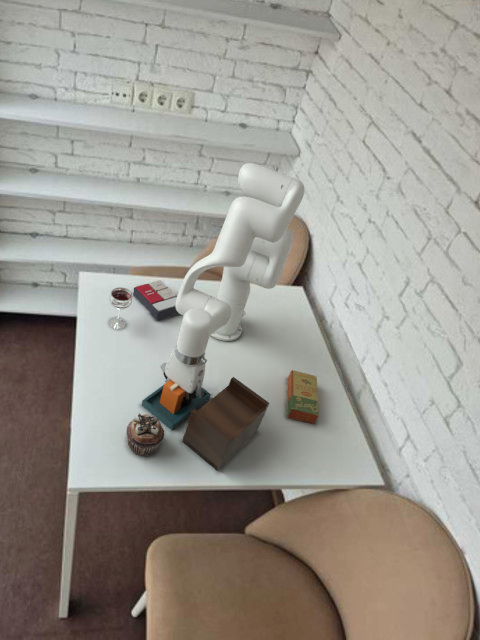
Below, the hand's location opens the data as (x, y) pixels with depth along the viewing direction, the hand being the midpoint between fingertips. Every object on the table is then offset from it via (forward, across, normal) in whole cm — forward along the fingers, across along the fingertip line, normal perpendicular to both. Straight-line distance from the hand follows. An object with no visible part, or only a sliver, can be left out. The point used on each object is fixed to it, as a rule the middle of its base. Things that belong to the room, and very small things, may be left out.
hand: (177, 398), depth 149 cm
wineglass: (+2, +34, -10) cm, 35 cm away
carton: (+2, -24, -29) cm, 38 cm away
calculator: (+2, +33, -28) cm, 43 cm away
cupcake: (+2, -3, +17) cm, 17 cm away
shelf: (+2, -16, 0) cm, 16 cm away
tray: (+2, 0, 0) cm, 2 cm away
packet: (+1, 0, 0) cm, 1 cm away
